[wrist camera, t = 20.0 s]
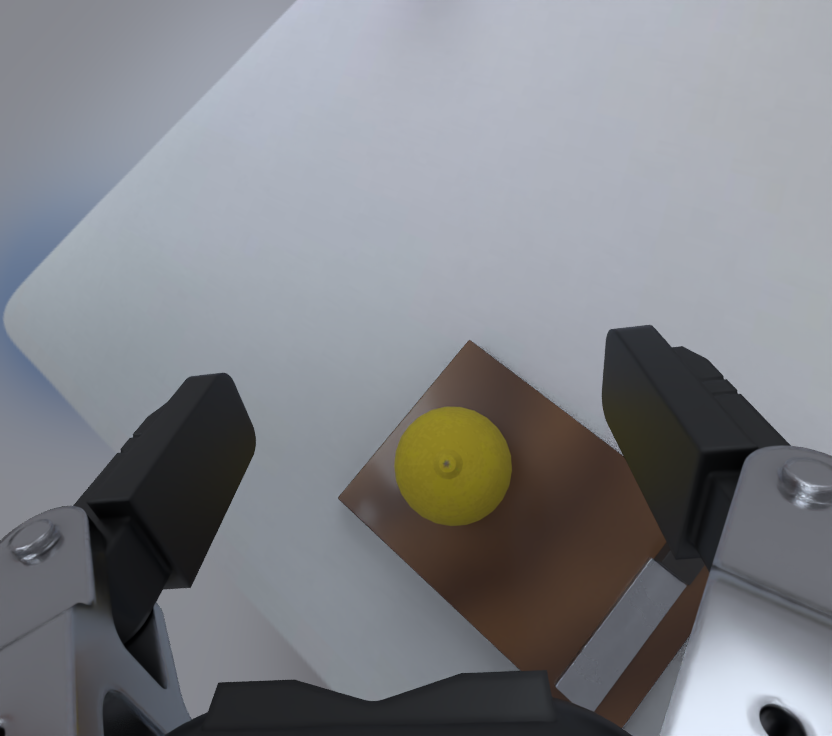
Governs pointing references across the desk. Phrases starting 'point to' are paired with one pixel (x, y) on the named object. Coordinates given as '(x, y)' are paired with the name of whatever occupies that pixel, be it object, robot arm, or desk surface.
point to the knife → (626, 628)
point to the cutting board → (533, 534)
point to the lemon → (453, 466)
